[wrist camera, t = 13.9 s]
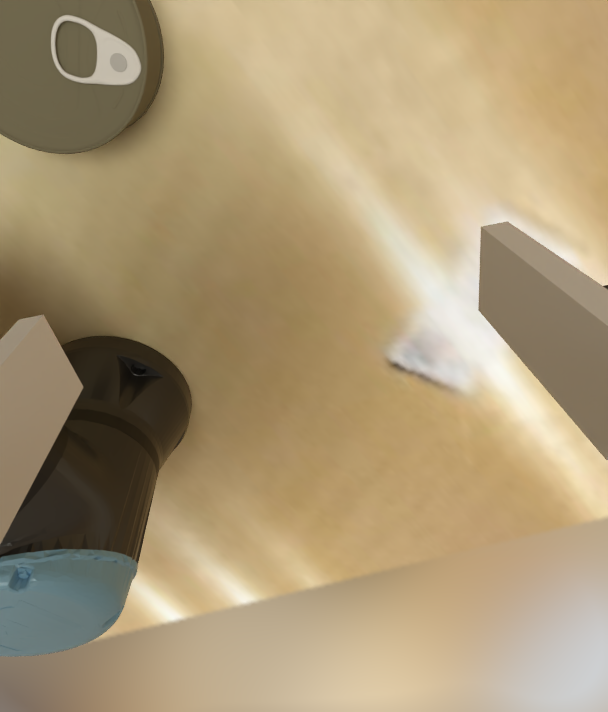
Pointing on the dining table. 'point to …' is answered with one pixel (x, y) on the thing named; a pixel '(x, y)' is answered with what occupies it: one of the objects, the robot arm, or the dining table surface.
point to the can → (76, 70)
